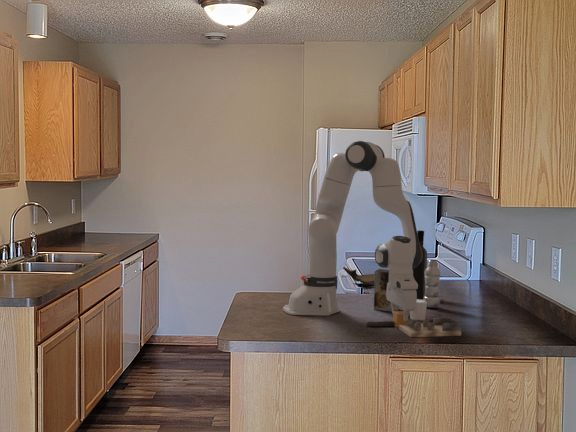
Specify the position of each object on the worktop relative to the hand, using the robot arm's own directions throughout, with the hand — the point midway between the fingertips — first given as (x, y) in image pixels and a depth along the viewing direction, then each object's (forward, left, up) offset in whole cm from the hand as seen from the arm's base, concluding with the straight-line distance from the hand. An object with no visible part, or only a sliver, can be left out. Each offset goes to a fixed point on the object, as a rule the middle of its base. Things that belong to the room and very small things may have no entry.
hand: (400, 317), depth 250 cm
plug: (-6, 0, -3) cm, 6 cm away
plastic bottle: (+24, +27, -3) cm, 36 cm away
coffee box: (+4, +26, -3) cm, 26 cm away
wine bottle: (+26, +46, -3) cm, 53 cm away
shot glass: (+11, +10, -3) cm, 15 cm away
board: (+7, -10, -3) cm, 13 cm away
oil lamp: (+16, +76, -3) cm, 78 cm away
